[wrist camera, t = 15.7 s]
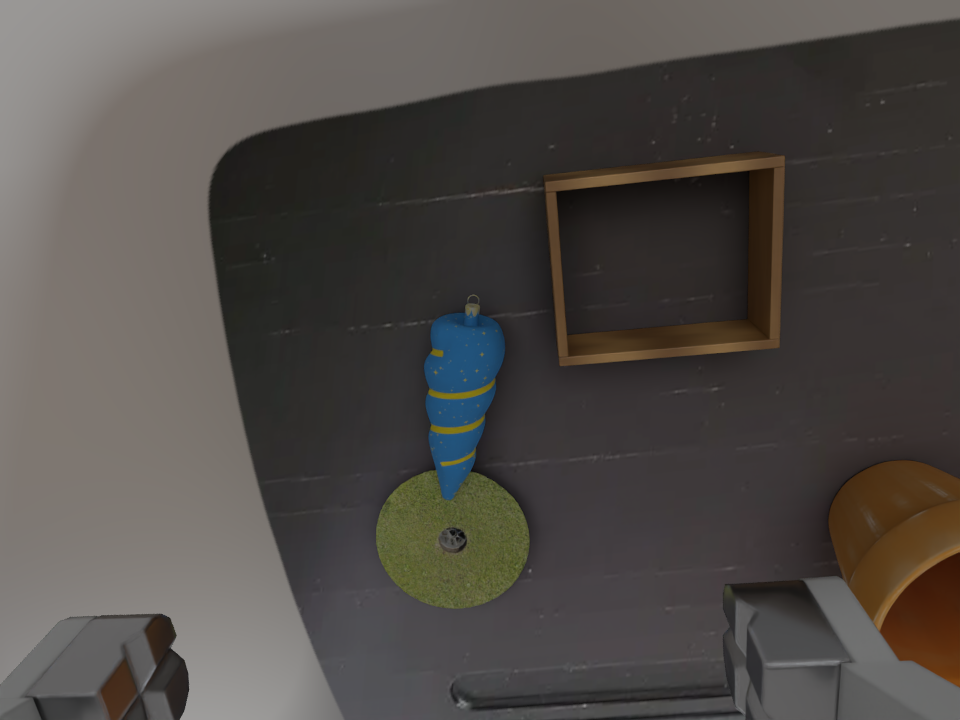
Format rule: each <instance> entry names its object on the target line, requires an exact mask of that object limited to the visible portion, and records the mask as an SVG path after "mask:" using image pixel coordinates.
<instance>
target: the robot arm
mask: <svg viewBox="0 0 960 720" xmlns="http://www.w3.org/2000/svg"><path fill="white" fill-rule="evenodd" d="M723 610H724V613H725V615H726V618H727V621H728V623H729V626H730V627H729V628H728V630H727V631H726V632H725V633H724V635H723V655H724V663H725V670H726V677H727V681H728V685H729V689H730V693H731V696H732V699H733V702H734V704H735V707H736V708H737V709H738V710H739V711H740V712H742V713H743V714H744V715H745V716H746V720H960V688H959V687H958V686H956V685H954V684H952V683H951V682H949V681H947V680H945V679H943V678H942V677H940V676H938V675H936V674H935V673H933V672H931V671H929V670H928V669H926V668H924V667H922V666H921V665H919V664H917V663H915V662H913V661H900V660H899V659H898V658H897V656H896V655H895V653H894V652H893V650H892V649H891V647H890V646H889V645H888V643H887V642H886V640H885V639H884V637H883V636H882V634H881V633H880V632H879V630H878V629H877V627H876V626H875V624H874V623H873V621H872V620H871V619H870V617H869V616H868V614H867V613H866V611H865V610H864V608H863V607H862V606H861V604H860V603H859V601H858V600H857V598H856V597H855V595H854V594H853V593H852V591H851V590H850V588H849V587H848V585H847V584H846V582H845V581H844V580H843V579H841V578H840V577H838V576H828V577H816V578H803V579H799V580H791V581H774V582H757V583H739V584H725V587H724V592H723ZM175 638H176V633H175V630H174V627H173V624H172V622H171V619H170V618H169V617H167V616H165V615H163V614H136V615H102V616H83V617H69V618H67V619H64V620H62V621H59V622H58V623H57V624H56V625H55V627H53V629H52V630H51V631H50V632H49V633H48V634H47V635H46V636H45V637H44V638H43V639H42V640H41V641H40V643H39V644H38V645H37V646H36V647H35V648H34V649H33V650H32V651H31V652H30V653H29V654H28V655H27V657H26V658H25V659H24V660H23V661H22V662H21V663H20V664H19V665H18V666H17V667H16V668H15V669H14V671H13V672H12V673H11V674H10V675H9V676H8V677H7V678H6V679H5V680H4V681H3V682H2V683H1V684H0V720H180V718H181V716H182V714H183V712H184V710H185V706H186V701H187V697H188V692H189V680H188V671H187V668H186V664H185V661H184V659H182V658H181V657H180V656H179V655H178V654H177V653H176V652H174V651H173V650H172V649H171V647H172V645H173V643H174V641H175Z"/></svg>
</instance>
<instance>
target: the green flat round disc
mask: <svg viewBox="0 0 960 720" xmlns="http://www.w3.org/2000/svg"><path fill="white" fill-rule="evenodd" d="M376 532H377V533H376V544H377V550H378V554H379V557H380V559H381V562H382V564H383V566H384V568H385V570H386V572H387V573H388V575H389V576H390V577H391V578H392V580H393V581H394V582H395V583H396V584H397V585H398V586H399V587H400V588H401V589H402V590H403V591H404V592H406V593H407V594H409V595H411V596H412V597H414V598H415V599H416V598H417V599H418V600H420V601H422V602H424V603H427V604H430V605H432V606H437V607H442V608H451V609H457V608H468V607H472V606H476V605H481V604H484V603H486V601H488V602H489V601H490V600H493V598H496V597H498V596H499V595H501V594H502V593H503V592H505V591H506V590H508V588H510V586H512V585H513V583H514V582H515V581H516V580H517V578H518V577H519V576H518V575H520V573H521V571H522V570H523V568H524V565H525V563H526V561H527V556H528V553H529V547H530V546H529V543H530V540H529V530H528V526H527V523H526V519H525V516H524V514H523V512H522V510H521V508H520V507H519V505H518V503H517V502H516V501H515V499H514V498H513V497H512V496H511V495H510V494H509V493H507V491H506V490H505V489H504V488H502V487H501V486H499V485H498V484H497V483H496V482H494V481H493V480H491V479H488V478H487V477H486V476H484V475H481V474H479V473H476V472H471V471H470V473H469V474H468V476H467V477H466V479H465V480H464V482H463V483H462V485H461V486H460V488H459V489H458V491H457V492H456V494H455V496H454V498H453V499H451V500H446V499H444V498H443V497H442V493H441V488H440V483H439V479H438V475H437V471H436V470H435V471H434V470H433V471H428V472H424V473H423V474H422V473H421V474H419V475H417V476H414V477H412V478H411V479H409V480H408V481H406V482H404V483H403V484H401V485H400V486H399V487H398V488H397V489H396V490H394V492H393V493H392V494H391V496H389V498H388V499H387V501H386V502H385V504H384V505H383V509H382V510H381V512H380V515H379V519H378V523H377V528H376Z"/></svg>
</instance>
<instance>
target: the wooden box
mask: <svg viewBox="0 0 960 720" xmlns="http://www.w3.org/2000/svg"><path fill="white" fill-rule="evenodd" d="M784 166H785V156H783V155H777V154H771V153H766V152H760V151H758V152H749V153H740V154H731V155H721V156H712V157H703V158H694V159H685V160H676V161H667V162H658V163H649V164H640V165H631V166H622V167H613V168H604V169H595V170H586V171H577V172H568V173H558V174H549V175H543V182H544V194H545V207H546V219H547V232H548V244H549V256H550V269H551V281H552V294H553V306H554V318H555V331H556V343H557V351H558V358H559V365H560V366H570V365H582V364H594V363H606V362H618V361H630V360H641V359H653V358H665V357H677V356H689V355H701V354H713V353H725V352H736V351H748V350H760V349H772V348H779V345H780V339H779V338H780V316H781V282H782V248H783V214H784V180H785V167H784ZM749 170H750V176H749V250H748V319H743V320H732V321H720V322H709V323H698V324H686V325H675V326H664V327H652V328H641V329H630V330H618V331H607V332H596V333H585V334H573V335H567V329H566V316H565V302H564V289H563V276H562V263H561V249H560V236H559V223H558V209H557V196H556V191H564V190H573V189H583V188H592V187H601V186H610V185H620V184H629V183H638V182H648V181H657V180H666V179H675V178H685V177H694V176H703V175H712V174H722V173H731V172H740V171H749Z"/></svg>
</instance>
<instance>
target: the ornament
mask: <svg viewBox="0 0 960 720" xmlns="http://www.w3.org/2000/svg"><path fill="white" fill-rule="evenodd" d="M471 296H476V295H471ZM469 297H470V296H469ZM469 297H468V299H469ZM478 299H479V298H478ZM478 303H479V302H478ZM479 311H480V306H479V305H478V304H469V303H468V304H466V306H465V313H452V314H447V315H444V316H441V317H439V318H438V319H437V320H435V322H434V323H433V325H432V327H431V343H432V349H433V350H432V352H431V353H430V354H429V355H428V357H427V358H426V360H425V364H424V372H425V377H426V380H427V383H428V386H429V388H430V390H429V392H428V394H427V396H426V402H425V404H426V410H427V414H428V417H429V420H430V422H431V428H430V431H429V445H430V449H431V453H432V456H433V460H434V463H435V467H436V471H437V475H438V479H439V483H440V488H441V493H442V497H443V498H444V499H446V500H451V499H453V498H454V496H455V494H456V492H457V491H458V489H459V488H460V486H461V485H462V483H463V482H464V480H465V479H466V477H467V476H468V474H469V473H470V471H471V469H472V467H473V465H474V463H475V459H476V446H477V444H478V442H479V440H480V438H481V435H482V433H483V430H484V427H485V413H486V411H487V409H488V408H489V406H490V404H491V402H492V400H493V398H494V395H495V391H496V379H495V377H496V375H497V373H498V371H499V369H500V367H501V365H502V362H503V359H504V355H505V340H504V335H503V332H502V329H501V327H500V325H499V324H498V323H497V322H496V321H495V320H493V319H492V318H489V317H487V316H483V315H479Z"/></svg>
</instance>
